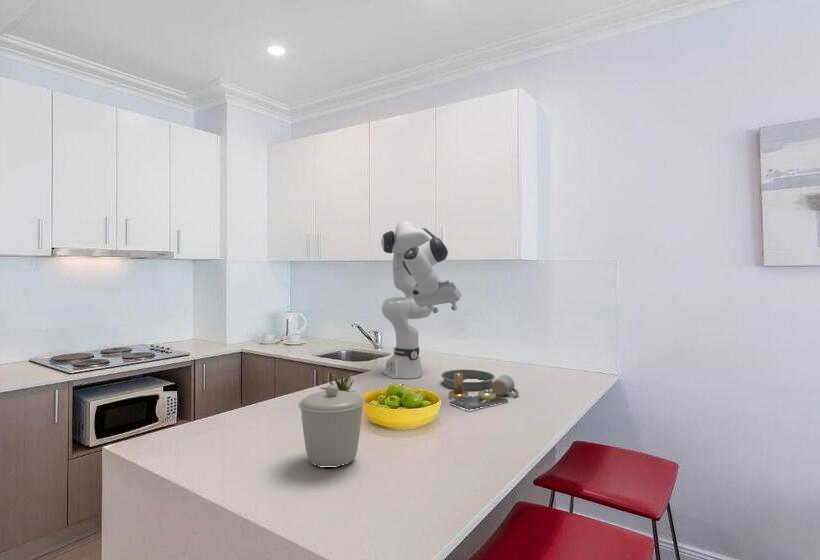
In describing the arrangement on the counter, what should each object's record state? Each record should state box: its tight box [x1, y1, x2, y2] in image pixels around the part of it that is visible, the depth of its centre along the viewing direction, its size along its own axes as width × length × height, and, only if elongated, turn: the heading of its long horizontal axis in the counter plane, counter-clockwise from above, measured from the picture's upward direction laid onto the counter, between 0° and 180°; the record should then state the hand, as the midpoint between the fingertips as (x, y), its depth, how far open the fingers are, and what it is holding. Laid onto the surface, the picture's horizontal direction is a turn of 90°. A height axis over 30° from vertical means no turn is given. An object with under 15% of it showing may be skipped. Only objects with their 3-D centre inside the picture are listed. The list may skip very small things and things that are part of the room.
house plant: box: [320, 372, 356, 393], centre depth 165 cm, size 14×14×16 cm
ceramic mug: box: [491, 374, 520, 398], centre depth 194 cm, size 11×8×8 cm
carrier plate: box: [448, 388, 509, 410], centre depth 182 cm, size 12×21×5 cm, turn 125°
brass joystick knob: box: [448, 373, 469, 399], centre depth 190 cm, size 8×8×10 cm
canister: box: [298, 384, 366, 466], centre depth 128 cm, size 18×18×21 cm
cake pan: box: [440, 369, 496, 391], centre depth 212 cm, size 25×25×4 cm
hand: (445, 310), depth 190 cm, fingers open, 8 cm apart
